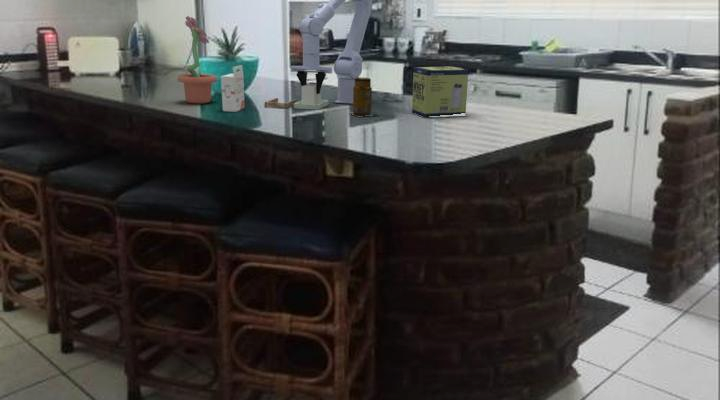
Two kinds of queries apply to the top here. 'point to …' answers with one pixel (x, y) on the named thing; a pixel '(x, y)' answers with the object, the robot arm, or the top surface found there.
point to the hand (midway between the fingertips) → (311, 93)
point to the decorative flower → (195, 83)
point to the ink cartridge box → (233, 90)
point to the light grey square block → (310, 94)
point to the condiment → (362, 97)
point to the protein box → (439, 91)
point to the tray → (311, 105)
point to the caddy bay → (275, 104)
